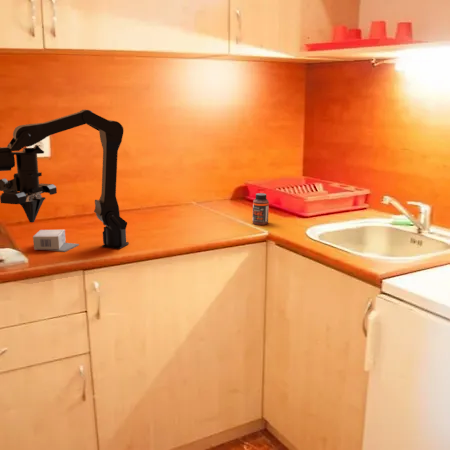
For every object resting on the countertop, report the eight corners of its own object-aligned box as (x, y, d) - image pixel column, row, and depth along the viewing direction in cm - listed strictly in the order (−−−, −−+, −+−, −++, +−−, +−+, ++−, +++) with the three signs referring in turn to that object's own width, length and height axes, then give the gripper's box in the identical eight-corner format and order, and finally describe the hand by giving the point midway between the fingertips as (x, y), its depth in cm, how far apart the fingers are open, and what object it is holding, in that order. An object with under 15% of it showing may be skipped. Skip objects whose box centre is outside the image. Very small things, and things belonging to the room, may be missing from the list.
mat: (79, 245, 174) (79, 244, 174) (64, 252, 167) (64, 250, 167) (55, 242, 177) (55, 241, 177) (40, 249, 170) (39, 248, 170)
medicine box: (59, 249, 168) (66, 242, 176) (58, 235, 167) (65, 229, 175) (33, 250, 168) (41, 242, 176) (32, 236, 167) (40, 229, 175)
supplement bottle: (250, 224, 202) (251, 194, 199) (254, 221, 207) (255, 192, 205) (266, 225, 200) (266, 195, 197) (269, 222, 206) (270, 193, 203)
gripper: (24, 164, 167) (28, 213, 171) (-19, 172, 150) (-14, 227, 153) (56, 166, 164) (59, 216, 167) (15, 174, 146) (20, 230, 150)
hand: (31, 222), depth 160 cm, fingers closed
